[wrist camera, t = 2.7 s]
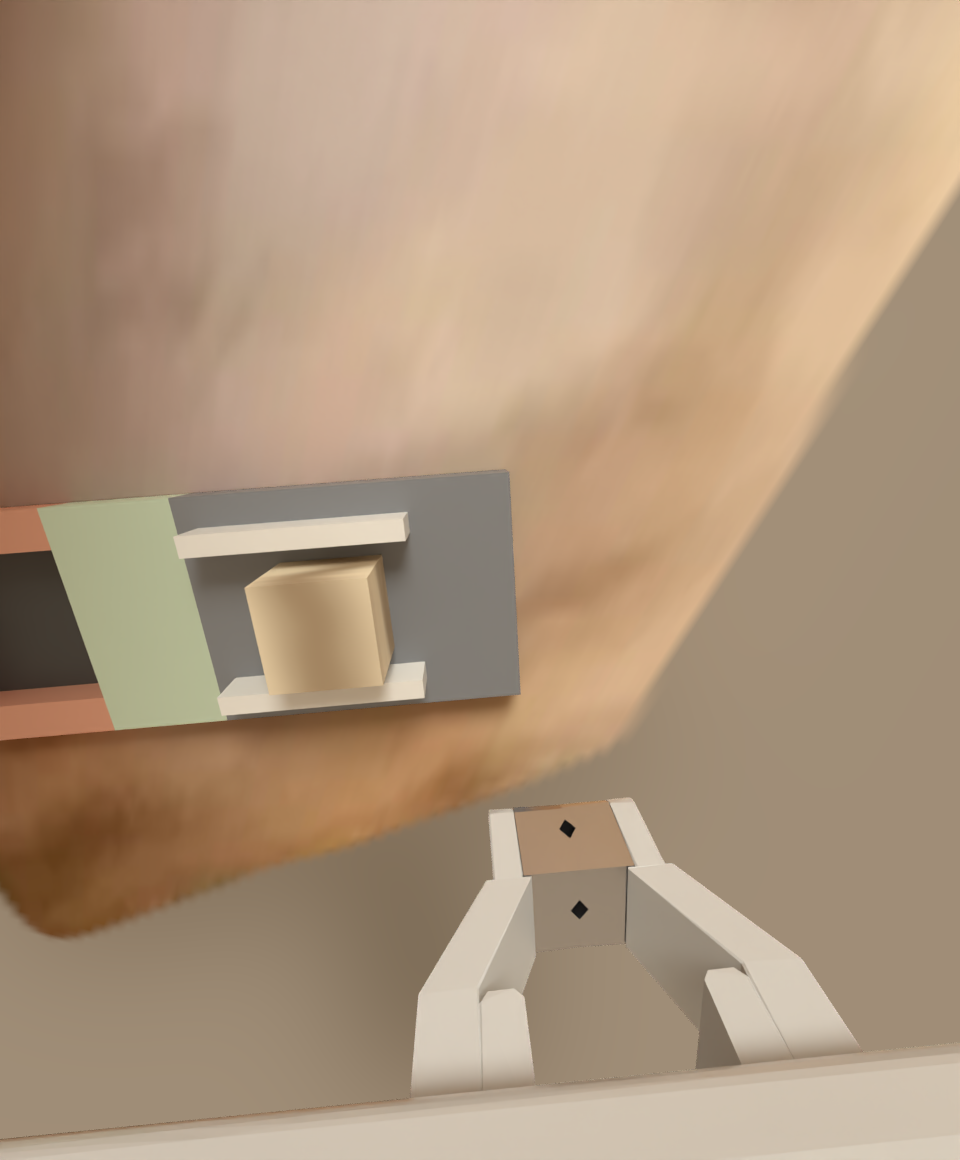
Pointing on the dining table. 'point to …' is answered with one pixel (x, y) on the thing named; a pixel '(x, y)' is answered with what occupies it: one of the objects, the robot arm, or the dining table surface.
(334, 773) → the dining table surface
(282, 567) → the birch block
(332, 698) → the channel walls
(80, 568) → the pad
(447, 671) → the board
